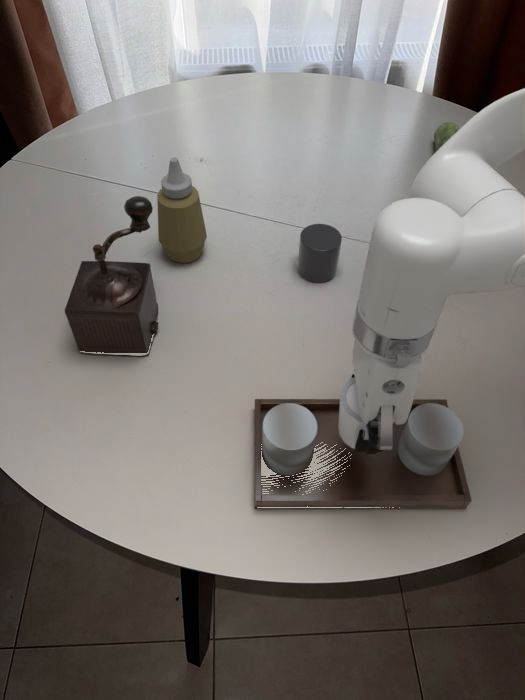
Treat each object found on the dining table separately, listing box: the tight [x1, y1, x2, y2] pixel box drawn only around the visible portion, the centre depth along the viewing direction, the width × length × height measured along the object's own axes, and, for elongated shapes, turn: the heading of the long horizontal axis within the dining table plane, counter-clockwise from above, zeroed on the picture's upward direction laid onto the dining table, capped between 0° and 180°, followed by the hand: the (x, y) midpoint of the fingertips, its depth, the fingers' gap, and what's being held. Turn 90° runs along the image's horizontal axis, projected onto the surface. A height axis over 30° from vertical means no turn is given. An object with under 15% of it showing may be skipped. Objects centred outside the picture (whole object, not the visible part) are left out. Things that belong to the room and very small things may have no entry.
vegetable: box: [433, 121, 460, 153], centre depth 117 cm, size 14×5×5 cm, turn 170°
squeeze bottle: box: [156, 156, 208, 264], centre depth 92 cm, size 8×8×18 cm
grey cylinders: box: [296, 223, 343, 284], centre depth 95 cm, size 26×7×7 cm, turn 91°
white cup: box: [338, 377, 394, 449], centre depth 68 cm, size 7×7×7 cm
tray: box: [254, 398, 472, 509], centre depth 73 cm, size 26×15×7 cm, turn 91°
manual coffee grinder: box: [64, 195, 159, 353], centre depth 83 cm, size 16×11×18 cm
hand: (364, 421), depth 69 cm, fingers closed on white cup, 6 cm apart
